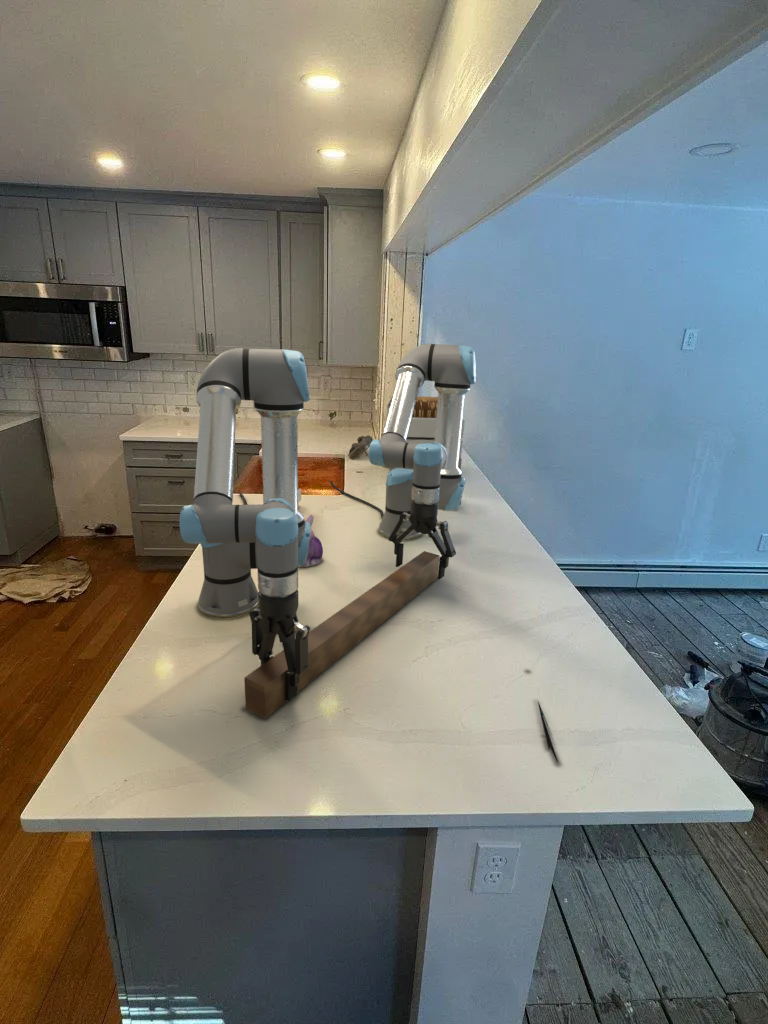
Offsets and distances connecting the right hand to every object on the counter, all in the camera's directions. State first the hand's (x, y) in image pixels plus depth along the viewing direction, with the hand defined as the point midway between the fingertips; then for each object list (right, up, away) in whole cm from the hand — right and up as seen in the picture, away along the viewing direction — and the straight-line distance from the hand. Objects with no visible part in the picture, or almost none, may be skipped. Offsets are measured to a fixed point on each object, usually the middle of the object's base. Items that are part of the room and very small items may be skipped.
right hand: (419, 571), depth 162 cm
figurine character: (+17, +20, +69) cm, 74 cm away
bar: (-16, -12, -22) cm, 30 cm away
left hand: (-31, -19, -47) cm, 60 cm away
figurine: (-33, +2, +13) cm, 36 cm away
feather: (+21, -23, -49) cm, 58 cm away
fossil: (-23, +48, +142) cm, 151 cm away
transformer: (+7, +36, +113) cm, 119 cm away
